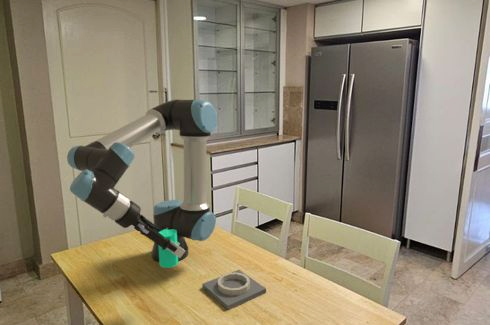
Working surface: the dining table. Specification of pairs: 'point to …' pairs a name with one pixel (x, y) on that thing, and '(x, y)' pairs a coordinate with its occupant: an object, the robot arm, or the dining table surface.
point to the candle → (166, 256)
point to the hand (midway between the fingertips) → (179, 250)
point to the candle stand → (233, 289)
